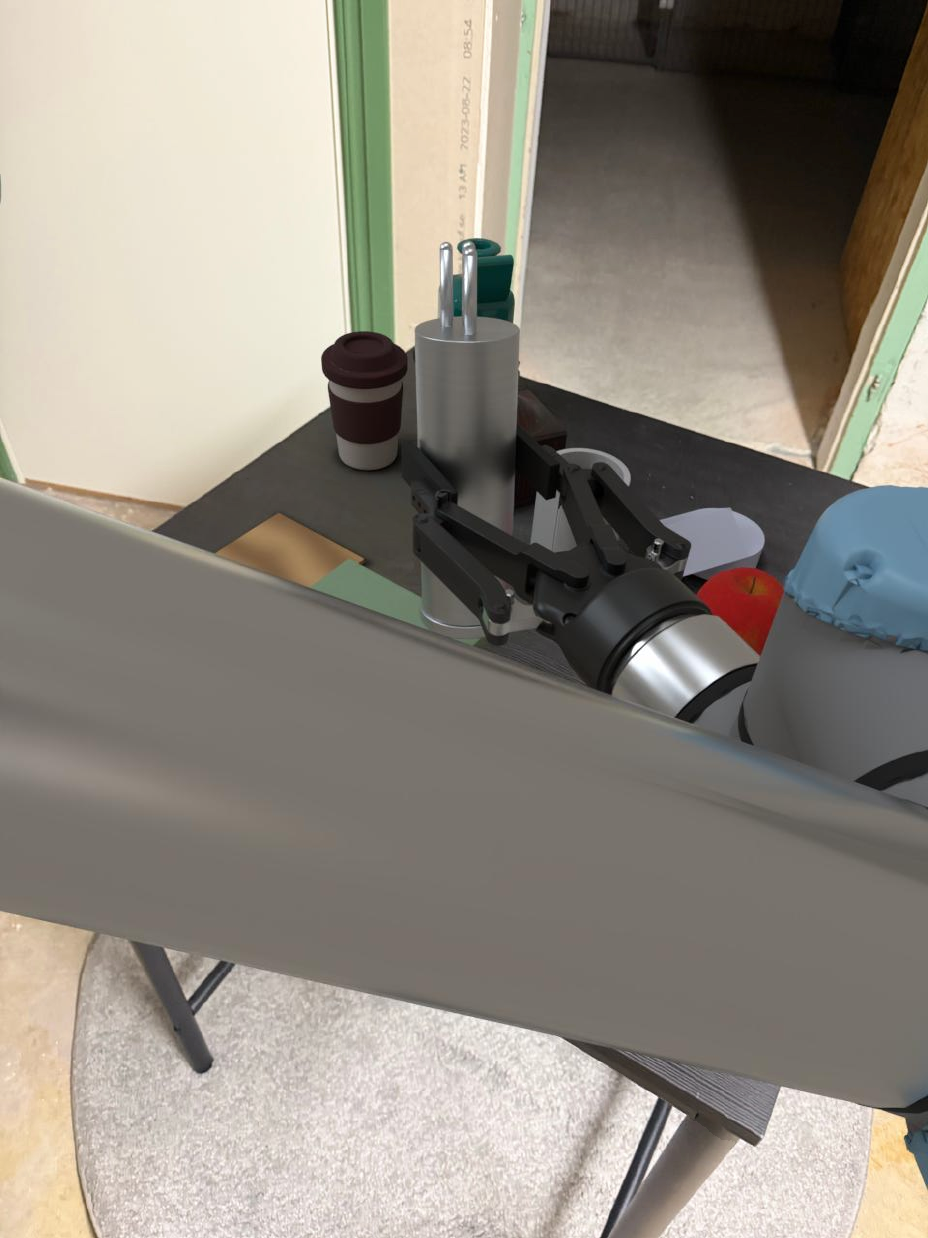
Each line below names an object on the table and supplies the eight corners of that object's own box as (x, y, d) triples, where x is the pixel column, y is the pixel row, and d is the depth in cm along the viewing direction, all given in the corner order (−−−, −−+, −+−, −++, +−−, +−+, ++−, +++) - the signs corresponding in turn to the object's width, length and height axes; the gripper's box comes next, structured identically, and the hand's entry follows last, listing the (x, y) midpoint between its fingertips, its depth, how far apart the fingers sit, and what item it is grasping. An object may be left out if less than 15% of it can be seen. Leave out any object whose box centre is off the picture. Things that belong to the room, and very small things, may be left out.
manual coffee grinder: (520, 450, 111) (533, 315, 99) (561, 497, 104) (581, 358, 92) (407, 474, 106) (406, 335, 94) (442, 526, 99) (446, 382, 87)
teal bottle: (432, 394, 121) (435, 231, 106) (489, 387, 123) (500, 226, 108) (453, 430, 114) (460, 262, 99) (513, 422, 116) (528, 256, 101)
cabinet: (481, 700, 80) (486, 632, 74) (384, 798, 72) (381, 731, 66) (353, 625, 87) (349, 557, 81) (251, 707, 79) (237, 639, 72)
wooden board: (255, 644, 84) (254, 640, 84) (167, 588, 90) (166, 583, 89) (364, 562, 94) (364, 558, 94) (279, 516, 99) (278, 512, 99)
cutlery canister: (483, 649, 61) (489, 257, 48) (401, 622, 64) (385, 246, 51) (528, 606, 66) (546, 240, 53) (451, 582, 69) (448, 231, 56)
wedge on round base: (676, 600, 92) (773, 570, 96) (690, 551, 87) (791, 521, 91) (629, 550, 97) (723, 524, 102) (640, 501, 93) (737, 476, 97)
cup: (576, 604, 91) (593, 511, 82) (511, 563, 95) (521, 470, 87) (627, 565, 95) (648, 474, 87) (563, 528, 100) (577, 438, 92)
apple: (755, 719, 80) (795, 625, 72) (663, 681, 83) (690, 587, 75) (780, 657, 86) (820, 564, 78) (693, 624, 89) (722, 531, 81)
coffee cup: (377, 426, 114) (374, 316, 104) (423, 460, 109) (425, 348, 98) (313, 451, 109) (303, 338, 99) (358, 487, 104) (352, 372, 94)
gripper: (494, 777, 44) (325, 527, 59) (782, 654, 52) (569, 459, 66) (505, 677, 39) (316, 430, 53) (823, 556, 46) (582, 368, 61)
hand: (456, 446), depth 60 cm, fingers closed on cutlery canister, 7 cm apart
